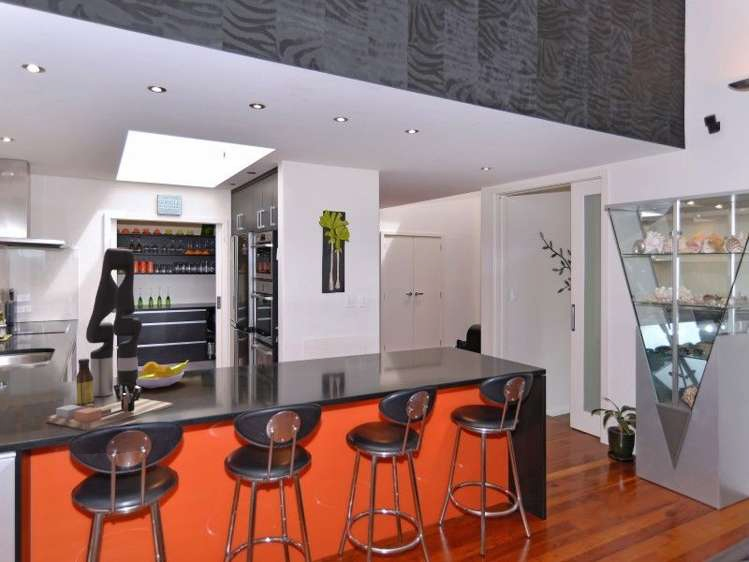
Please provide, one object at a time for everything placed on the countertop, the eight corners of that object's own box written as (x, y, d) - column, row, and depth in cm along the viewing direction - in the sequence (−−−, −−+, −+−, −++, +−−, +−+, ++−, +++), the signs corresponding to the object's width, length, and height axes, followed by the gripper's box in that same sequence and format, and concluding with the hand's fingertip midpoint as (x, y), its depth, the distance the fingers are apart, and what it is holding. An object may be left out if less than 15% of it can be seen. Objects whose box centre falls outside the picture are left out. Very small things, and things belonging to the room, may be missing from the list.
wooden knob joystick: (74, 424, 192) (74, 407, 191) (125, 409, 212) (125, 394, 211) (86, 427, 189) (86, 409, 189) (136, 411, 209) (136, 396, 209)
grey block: (56, 421, 196) (56, 408, 195) (87, 412, 208) (87, 400, 207) (67, 423, 193) (67, 410, 193) (99, 414, 205) (98, 402, 205)
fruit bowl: (123, 392, 244) (122, 368, 244) (133, 380, 270) (133, 358, 270) (186, 389, 251) (186, 366, 251) (190, 377, 278) (190, 356, 277)
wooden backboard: (47, 424, 195) (47, 416, 195) (135, 399, 232) (135, 393, 232) (87, 432, 186) (87, 424, 186) (172, 405, 223) (172, 398, 223)
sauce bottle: (96, 403, 225) (96, 357, 224) (89, 407, 219) (89, 360, 218) (81, 403, 225) (81, 357, 224) (73, 407, 218) (73, 360, 218)
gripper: (148, 368, 209) (148, 410, 210) (122, 364, 215) (123, 406, 215) (132, 371, 202) (132, 415, 203) (107, 368, 208) (107, 411, 208)
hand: (127, 410), depth 209 cm, fingers closed on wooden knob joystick, 3 cm apart
